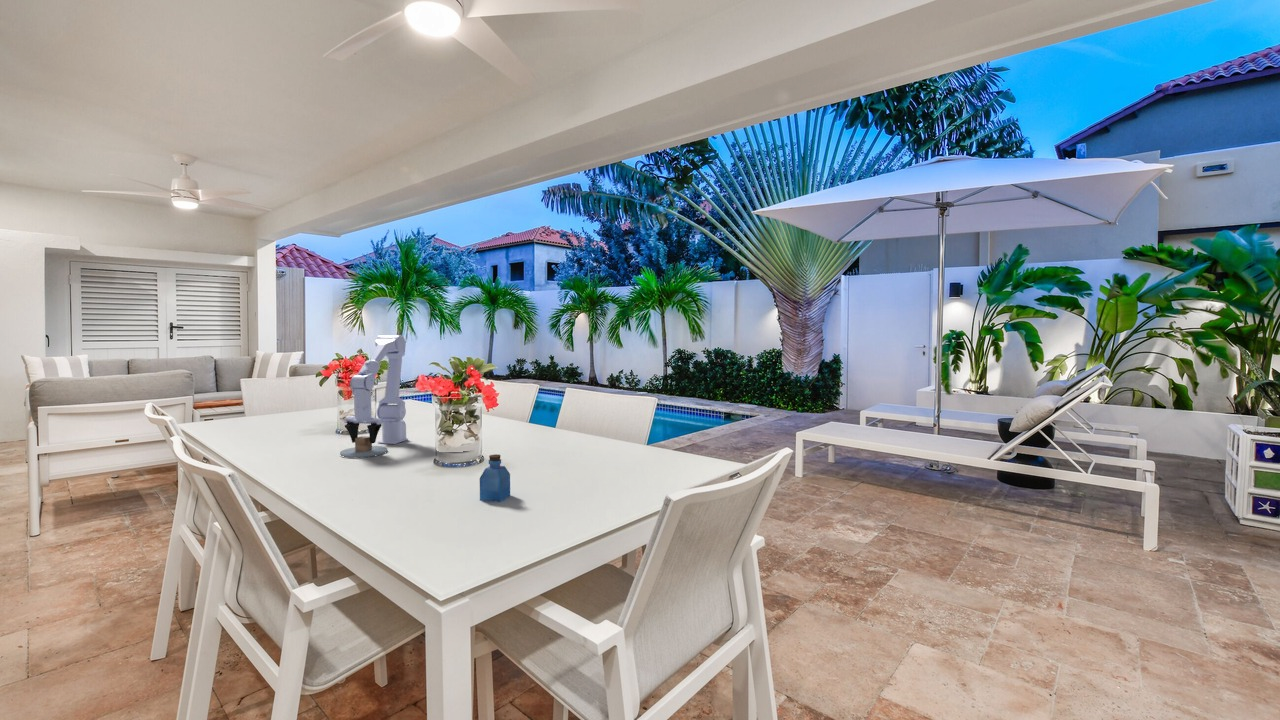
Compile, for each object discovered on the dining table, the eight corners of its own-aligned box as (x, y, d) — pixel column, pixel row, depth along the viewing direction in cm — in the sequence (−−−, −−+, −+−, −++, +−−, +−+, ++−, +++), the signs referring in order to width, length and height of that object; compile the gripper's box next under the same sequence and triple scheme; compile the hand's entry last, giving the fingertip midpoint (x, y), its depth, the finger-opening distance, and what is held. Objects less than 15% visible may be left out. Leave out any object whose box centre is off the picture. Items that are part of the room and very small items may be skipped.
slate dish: (359, 447, 220) (359, 445, 220) (396, 449, 217) (396, 446, 217) (329, 456, 204) (329, 454, 204) (369, 459, 201) (369, 456, 201)
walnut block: (362, 449, 213) (362, 436, 213) (371, 449, 212) (371, 436, 212) (355, 451, 209) (355, 438, 209) (364, 451, 208) (364, 438, 208)
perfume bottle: (500, 501, 154) (500, 458, 153) (479, 500, 155) (479, 457, 154) (510, 495, 160) (509, 453, 159) (490, 493, 161) (489, 452, 160)
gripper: (338, 407, 207) (339, 443, 208) (373, 408, 204) (374, 445, 205) (351, 404, 214) (352, 440, 215) (385, 406, 211) (386, 441, 212)
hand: (363, 442), depth 211 cm, fingers open, 7 cm apart
